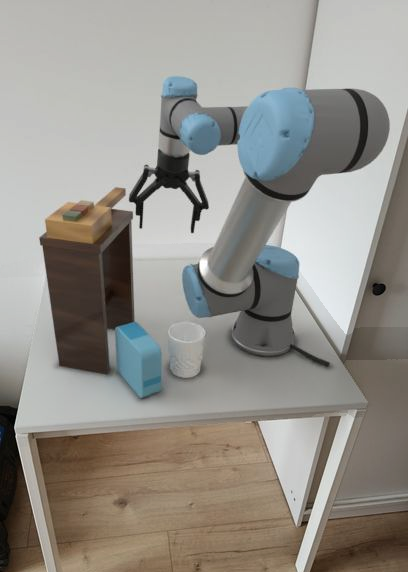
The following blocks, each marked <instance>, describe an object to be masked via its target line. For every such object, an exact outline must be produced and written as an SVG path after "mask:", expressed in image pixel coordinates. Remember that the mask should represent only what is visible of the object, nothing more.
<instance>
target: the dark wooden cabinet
mask: <svg viewBox="0 0 408 572" xmlns="http://www.w3.org/2000/svg"><path fill="white" fill-rule="evenodd" d="M111 217H112V225H111V226H110V227H109V228H108V229H107V230H106V231H105V232H104V233H103V234H102V235H101V236H100V237H99V238H98V240H97V241H96V242H95V243H94V244H88V243H81V242H74V241H67V240H59V239H52V238H47V232H46V231H45V232H44V233H43V234H42V235H41V236H39V237H38V238H39V245H40V246H42V255H43V260H44V261H43V262H44V267H45V268H44V269H45V275H46V281H47V282H46V283H47V289H48V294H49V295H48V297H49V302H50V303H49V304H50V309H51V311H50V312H51V317H52V318H51V319H52V324H53V332H54V338H55V346H56V351H57V359H58V360H57V361H58V366H59V367H65V368H69V369H75V370H80V371H85V372H92V373H98V374H103V375H108V374H109V373H110V371H111V366H110V352H109V351H110V350H109V337H108V329H109V330H115V328H116V327H118V326H122V325H125V324H129V323H132V322H136V321H135V291H134V259H133V257H134V256H133V230H132V229H133V227H132V226H133V225H132V221H133V219H134V211H131V210H126V209H125V210H124V209H117V208H112V209H111Z"/></svg>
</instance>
